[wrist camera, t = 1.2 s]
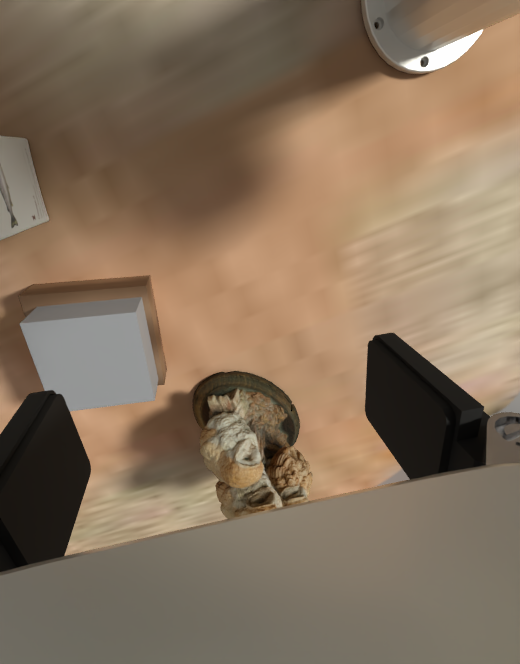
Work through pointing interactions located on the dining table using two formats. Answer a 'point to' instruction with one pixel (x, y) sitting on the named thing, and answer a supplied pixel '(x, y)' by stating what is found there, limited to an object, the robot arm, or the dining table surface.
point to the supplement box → (18, 188)
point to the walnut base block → (101, 292)
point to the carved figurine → (250, 443)
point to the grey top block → (93, 352)
